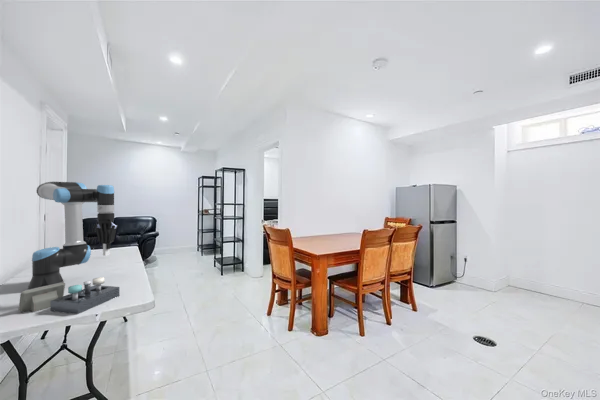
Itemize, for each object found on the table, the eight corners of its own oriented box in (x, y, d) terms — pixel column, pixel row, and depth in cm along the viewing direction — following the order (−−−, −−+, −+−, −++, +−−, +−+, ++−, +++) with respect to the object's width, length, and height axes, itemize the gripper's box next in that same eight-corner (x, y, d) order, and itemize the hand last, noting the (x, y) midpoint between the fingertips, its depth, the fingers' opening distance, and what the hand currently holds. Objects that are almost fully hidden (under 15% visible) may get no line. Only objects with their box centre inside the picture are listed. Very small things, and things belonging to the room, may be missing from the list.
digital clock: (64, 299, 134) (63, 280, 134) (66, 304, 129) (66, 283, 128) (18, 310, 122) (18, 288, 122) (19, 315, 116) (18, 293, 116)
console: (50, 311, 121) (50, 300, 121) (95, 293, 143) (95, 285, 142) (78, 314, 118) (77, 303, 118) (119, 295, 140) (119, 286, 140)
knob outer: (65, 302, 122) (65, 287, 122) (76, 298, 127) (76, 284, 127) (74, 303, 121) (73, 288, 121) (84, 299, 126) (84, 285, 126)
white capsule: (82, 294, 129) (82, 282, 129) (87, 292, 132) (87, 280, 132) (86, 294, 128) (86, 283, 128) (92, 292, 131) (92, 281, 131)
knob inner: (90, 293, 134) (90, 279, 134) (99, 289, 139) (99, 277, 139) (98, 294, 133) (98, 280, 133) (106, 290, 138) (106, 277, 138)
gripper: (89, 213, 137) (89, 256, 137) (109, 213, 135) (110, 256, 135) (102, 212, 145) (102, 253, 145) (121, 212, 143) (122, 253, 143)
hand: (106, 254), depth 140 cm, fingers closed
